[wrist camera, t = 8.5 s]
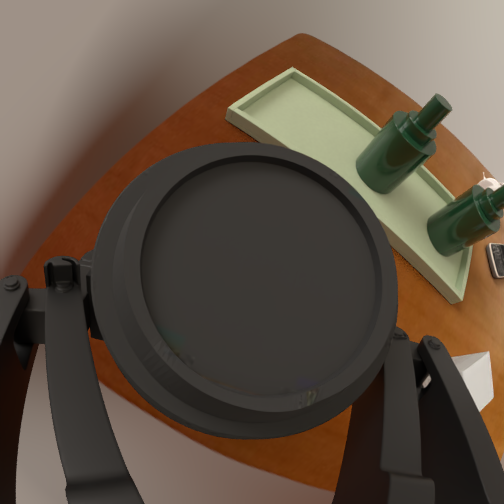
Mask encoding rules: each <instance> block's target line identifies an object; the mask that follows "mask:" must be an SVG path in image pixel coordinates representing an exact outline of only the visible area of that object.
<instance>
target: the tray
mask: <svg viewBox="0 0 504 504" xmlns="http://www.w3.org/2000/svg"><path fill="white" fill-rule="evenodd" d="M225 120H227V121H228V122H230V123H232V124H233V125H235V126H236V127H238V128H239V129H241V130H242V131H244V132H245V133H247V134H248V135H250V136H251V137H253V138H254V139H256V140H257V141H259V142H260V143H265V144H272V145H277V146H281V147H285V148H288V149H292V150H294V151H297V152H300V153H302V154H305V155H307V156H309V157H311V158H313V159H315V160H317V161H319V162H321V163H322V164H324V165H326V166H327V167H329V168H330V169H332V170H333V171H335V172H336V173H337V174H339V175H340V176H341V177H343V178H344V179H345V180H346V181H347V182H348V183H349V184H351V185H352V186H353V187H354V188H355V189H356V190H357V191H358V193H359V194H360V195H361V196H362V197H363V198H364V199H365V201H366V202H367V203H368V205H369V206H370V207H371V209H372V210H373V212H374V213H375V215H376V216H377V218H378V220H379V221H380V223H381V225H382V227H383V229H384V231H385V233H386V236H387V238H388V241H389V243H390V245H391V246H392V247H393V248H394V249H395V250H396V251H397V252H398V253H400V254H401V255H402V256H403V257H404V258H405V259H406V260H407V261H408V262H409V263H410V264H411V265H412V266H413V267H414V268H416V269H417V270H418V271H419V272H420V273H421V274H422V275H423V276H424V277H425V278H426V279H427V280H428V281H429V282H430V283H431V284H432V285H433V286H434V287H435V288H436V289H437V290H438V291H439V292H440V293H441V294H442V295H443V296H444V297H445V298H446V299H447V300H448V301H449V303H450V304H454V303H458V302H461V301H462V300H463V296H464V292H465V287H466V282H467V277H468V272H469V267H470V261H471V255H472V248H473V245H472V246H470V247H468V248H466V249H464V250H462V251H460V252H458V253H456V254H454V255H452V256H450V257H445V256H443V255H441V254H440V253H439V252H438V251H437V250H436V249H435V248H434V246H433V245H432V243H431V241H430V238H429V236H428V232H427V221H428V218H429V217H430V216H431V215H432V214H434V213H435V212H437V211H438V210H440V209H441V208H443V207H444V206H446V205H447V204H448V203H450V202H451V201H453V200H454V199H456V198H455V197H454V196H453V195H452V194H451V193H450V192H449V191H448V190H447V189H446V188H445V187H444V186H443V185H442V184H441V183H440V182H439V181H438V180H437V179H436V178H435V177H434V176H433V175H432V174H431V173H430V172H429V171H428V170H427V169H426V168H425V167H424V166H423V165H422V166H421V167H419V168H418V169H417V170H416V171H415V172H414V173H413V174H412V175H411V176H409V177H408V178H407V179H406V180H405V181H404V182H403V183H401V184H400V185H399V186H398V187H397V188H396V189H395V190H393V191H392V192H391V193H389V194H380V193H377V192H375V191H373V190H372V189H370V188H369V187H368V186H367V185H366V184H365V183H364V182H363V181H362V180H361V178H360V176H359V175H358V172H357V170H356V159H357V157H358V156H359V155H360V154H361V152H362V151H363V150H364V149H365V148H366V147H367V145H368V144H369V143H370V142H371V141H372V139H373V138H374V137H375V136H376V135H377V133H378V132H379V131H380V130H381V128H380V127H379V126H377V125H376V124H375V123H374V122H372V121H371V120H370V119H368V118H367V117H366V116H365V115H363V114H362V113H361V112H359V111H358V110H357V109H355V108H354V107H352V106H351V105H350V104H348V103H347V102H345V101H344V100H343V99H341V98H340V97H338V96H337V95H335V94H334V93H332V92H331V91H330V90H328V89H327V88H325V87H323V86H322V85H320V84H319V83H317V82H316V81H314V80H313V79H311V78H309V77H308V76H306V75H304V74H303V73H301V72H299V71H298V70H296V69H294V68H293V67H292V68H290V69H288V70H287V71H285V72H283V73H281V74H280V75H278V76H276V77H275V78H273V79H271V80H270V81H268V82H266V83H265V84H263V85H262V86H260V87H258V88H257V89H255V90H254V91H252V92H251V93H249V94H248V95H246V96H244V97H243V98H241V99H240V100H238V101H237V102H235V103H234V104H232V105H231V106H230V107H228V110H227V114H226V118H225Z"/></svg>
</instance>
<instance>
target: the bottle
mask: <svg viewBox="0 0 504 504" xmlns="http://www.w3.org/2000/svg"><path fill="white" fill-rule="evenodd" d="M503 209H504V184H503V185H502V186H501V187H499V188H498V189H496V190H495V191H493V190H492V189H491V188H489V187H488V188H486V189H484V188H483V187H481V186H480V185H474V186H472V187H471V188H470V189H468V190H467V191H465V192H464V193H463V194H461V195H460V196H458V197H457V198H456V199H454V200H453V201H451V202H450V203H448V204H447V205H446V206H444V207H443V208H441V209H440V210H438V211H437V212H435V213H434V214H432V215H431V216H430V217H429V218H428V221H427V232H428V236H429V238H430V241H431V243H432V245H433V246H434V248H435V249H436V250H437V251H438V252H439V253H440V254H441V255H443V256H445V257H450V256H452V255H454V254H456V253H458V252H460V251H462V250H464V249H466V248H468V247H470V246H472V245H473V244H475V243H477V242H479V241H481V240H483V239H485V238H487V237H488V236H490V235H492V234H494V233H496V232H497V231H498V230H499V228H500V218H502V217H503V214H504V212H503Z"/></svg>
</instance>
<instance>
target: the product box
mask: <svg viewBox="0 0 504 504" xmlns="http://www.w3.org/2000/svg"><path fill="white" fill-rule="evenodd" d="M451 358H452V360H453V362H454V364H455V365H456V367H457V369H458V371H459V373H460V375H461V376H462V378H463V380H464V382H465V384H466V386H467V388H468V390H469V392H470V394H471V396H472V398H473V400H474V402H475V404H476V406H477V408H478V410H479V412H480V411H481V410H482V409H483V408H484V407H485V406H486V405H487V404H488V403H489V402H490V401H491V400H492V399H493V397H494V395H493V383H492V373H491V364H490V355H489V352H482V353H476V354H470V355H463V356H457V357H451ZM430 381H431V378H430V376H428V377H427V379H426V380H425V381H424V383H423V386H424V388H425V387H426V386H427V385H428V384H429V382H430Z"/></svg>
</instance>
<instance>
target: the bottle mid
mask: <svg viewBox="0 0 504 504" xmlns="http://www.w3.org/2000/svg"><path fill="white" fill-rule="evenodd" d="M451 111H452V107H451V105H450V104H449V103H448V102H447V100H446V99H445V98H444V97H442V96H441V95H439V94H435V95H434V96H433V97H432V98H431V100H430V101H429V102H428V103H427V104H426V105H425V106H424V107H423V109H422V110H421V111H420V112H416V111H410V112H409V113H406V112H403V111H397V112H395V113H394V114H393V115H392V117H391V118H390V119H389V120H388V121H387V123H386V124H385V125H384V126H383V127H382V129H381V130H380V131H379V132H378V133H377V135H376V136H375V137H374V138H373V139H372V141H371V142H370V143H369V144H368V145H367V147H366V148H365V149H364V150H363V151H362V152H361V154H360V155H359V156H358V157H357V159H356V170H357V172H358V175H359V176H360V178H361V180H362V181H363V182H364V183H365V184H366V185H367V186H368V187H369V188H370V189H372V190H373V191H375V192H377V193H380V194H389V193H391V192H392V191H393V190H395V189H396V188H397V187H398V186H399V185H400V184H401V183H403V182H404V181H405V180H406V179H407V178H408V177H409V176H411V175H412V174H413V173H414V172H415V171H416V170H417V169H418V168H419V167H421V166H422V165H423V164H424V163H425V162H426V161H427V160H428V159H429V158H431V157H432V156H433V155H434V154H435V152H436V144H435V141H434V139H435V138H436V131H435V128H436V127H437V126H438V124H439V123H440V122H441V121H442V120H443V119H444V118H445V117H446V116H447V115H448V114H449V113H450V112H451Z"/></svg>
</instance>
